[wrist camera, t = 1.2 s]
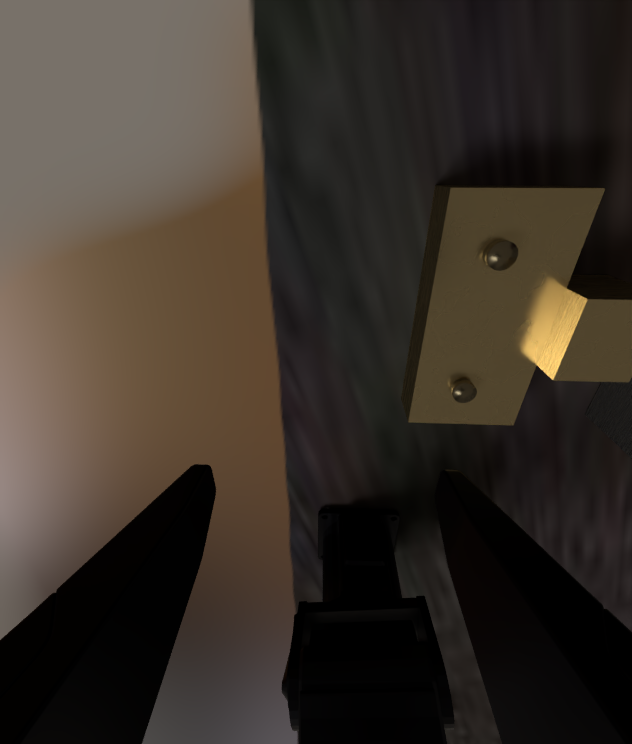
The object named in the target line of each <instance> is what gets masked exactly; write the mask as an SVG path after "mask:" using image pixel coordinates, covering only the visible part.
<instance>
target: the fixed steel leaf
mask: <svg viewBox="0 0 632 744" xmlns="http://www.w3.org/2000/svg"><path fill="white" fill-rule="evenodd" d="M585 415H586V416H587V417H588V418H589V419H590V420H591V421H592V422H593V423H594V424H596V425H597V426H598V427H599V428H600V429H601V430H602V431H603V432H604V433H605V434H606V435H607V436H608V437H609V438H610V439H611V440H612V441H614V442H615V443H616V444H617V445H618V446H619V447H620V448H621V449H622V450H623V451H624V452H625V453H626V454H627V455H628V456H629V457H630V458H632V378H631V379H630V381H629V382H602V383H601V385H600V387H599V389H598V391H597V392H596V394H595V396H594V398H593V400H592V402H591V404H590V406H589V408H588V410H587V412H586V414H585Z"/></svg>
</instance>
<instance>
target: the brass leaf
mask: <svg viewBox="0 0 632 744" xmlns="http://www.w3.org/2000/svg"><path fill="white" fill-rule="evenodd" d="M604 190H605V188H594V187H579V186H475V185H435V190H434V197H433V203H432V209H431V215H430V222H429V228H428V234H427V240H426V247H425V253H424V259H423V265H422V272H421V278H420V284H419V290H418V296H417V303H416V309H415V315H414V321H413V328H412V334H411V340H410V346H409V353H408V359H407V365H406V371H405V378H404V384H403V390H402V396H401V400H402V403H403V406H404V410H405V413H406V417H407V420H408V422H415V423H450V424H485V425H514V422H515V420H516V417H517V415H518V412H519V409H520V407H521V404H522V402H523V399H524V397H525V394H526V391H527V389H528V386H529V384H530V381H531V379H532V376H533V373H534V371H535V368H536V366H538V367H539V368H540V369H542V370H543V371H544V372H545V373H546V374H547V375H548V376H549V377H550V378H551V379H552V380H553V381H594V382H629V381H630V379H631V378H632V284H630V283H628V282H625V281H622V280H620V279H617V278H615V277H612V276H609V275H582V274H572V273H573V270H574V268H575V265H576V263H577V260H578V257H579V255H580V252H581V250H582V247H583V245H584V242H585V239H586V237H587V234H588V232H589V229H590V226H591V224H592V221H593V219H594V216H595V214H596V211H597V208H598V206H599V203H600V201H601V198H602V196H603V193H604Z"/></svg>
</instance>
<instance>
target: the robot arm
mask: <svg viewBox="0 0 632 744" xmlns="http://www.w3.org/2000/svg"><path fill="white" fill-rule="evenodd" d="M215 495H216V487H215V482H214V478H213V473H212V469H211V467H210V466H209V465H198V464H195V465H193V466H191V467H190V468H189V469H188V470H187V471H185V472H184V473H183V474H182V475H181V476H180V477H179V478H178V479H177V480H176V481H174V482H173V483H172V484H171V485H170V486H169V487H168V488H167V489H166V490H165V491H164V492H162V493H161V494H160V495H159V496H158V497H157V498H156V499H155V500H154V501H153V502H152V503H151V504H149V505H148V506H147V507H146V508H145V509H144V510H143V511H142V512H141V513H140V514H139V515H137V516H136V517H135V518H134V519H133V520H132V521H131V522H130V523H129V524H128V525H127V526H125V527H124V528H123V529H122V530H121V531H120V532H119V533H118V534H117V535H116V536H115V537H114V538H112V539H111V540H110V541H109V542H108V543H107V544H106V545H105V546H104V547H103V548H102V549H100V550H99V551H98V552H97V553H96V554H95V555H94V556H93V557H92V558H91V559H89V560H88V561H87V562H86V563H85V564H84V565H83V566H82V567H81V568H80V569H79V570H77V571H76V572H75V573H74V574H73V575H72V576H71V577H70V578H69V579H68V580H67V581H66V582H64V583H63V584H62V585H61V586H60V587H59V588H58V589H57V591H56V593H52V594H51V595H50V596H49V597H48V598H47V599H46V600H45V601H43V603H42V604H40V605H39V606H38V607H37V608H36V609H35V610H34V611H33V612H32V613H30V614H29V615H28V616H27V617H26V618H25V619H23V620H22V621H21V622H20V623H19V624H18V625H17V626H16V627H14V628H13V629H12V630H11V631H10V632H9V633H8V634H7V635H5V636H4V637H3V638H2V639H1V640H0V744H142V741H143V738H144V735H145V732H146V729H147V726H148V723H149V720H150V717H151V714H152V711H153V708H154V705H155V702H156V699H157V695H158V692H159V689H160V686H161V683H162V680H163V677H164V674H165V671H166V668H167V665H168V661H169V659H170V656H171V653H172V649H173V646H174V643H175V640H176V637H177V634H178V631H179V628H180V625H181V622H182V619H183V616H184V613H185V610H186V606H187V603H188V600H189V597H190V594H191V591H192V588H193V585H194V582H195V579H196V576H197V573H198V569H199V566H200V563H201V560H202V556H203V552H204V547H205V543H206V538H207V533H208V528H209V524H210V519H211V514H212V510H213V505H214V500H215ZM435 503H436V509H437V514H438V519H439V524H440V529H441V534H442V539H443V544H444V550H445V555H446V559H447V564H448V568H449V571H450V575H451V578H452V581H453V585H454V588H455V591H456V594H457V598H458V601H459V604H460V607H461V611H462V614H463V617H464V620H465V624H466V627H467V630H468V633H469V637H470V640H471V643H472V646H473V650H474V653H475V656H476V659H477V663H478V666H479V669H480V672H481V676H482V679H483V682H484V685H485V689H486V692H487V695H488V698H489V702H490V705H491V708H492V712H493V715H494V718H495V721H496V725H497V728H498V731H499V734H500V738H501V741H502V744H632V632H631V631H630V630H629V629H628V628H627V627H626V626H625V625H624V624H623V623H621V622H620V621H619V620H618V619H617V618H616V617H615V616H614V615H613V614H612V613H611V612H610V611H609V610H607V609H604V607H603V605H602V604H601V603H600V602H599V601H598V600H597V599H596V598H595V597H594V596H593V595H592V594H590V593H589V592H588V591H587V590H586V589H585V588H584V587H583V586H582V585H581V584H580V583H579V582H578V581H577V580H576V579H575V578H573V577H572V576H571V575H570V574H569V573H568V572H567V571H566V570H565V569H564V568H563V567H562V566H561V565H560V564H559V563H558V562H556V561H555V560H554V559H553V558H552V557H551V556H550V555H549V554H548V553H547V552H546V551H545V550H544V549H543V548H542V547H541V546H540V545H538V544H537V543H536V542H535V541H534V540H533V539H532V538H531V537H530V536H529V535H528V534H527V533H526V532H525V531H524V530H523V529H521V528H520V527H519V526H518V525H517V524H516V523H515V522H514V521H513V520H512V519H511V518H510V517H509V516H508V515H507V514H506V513H504V512H503V511H502V510H501V509H500V508H499V507H498V506H497V505H496V504H495V503H494V502H493V501H492V500H491V499H490V498H489V497H487V496H486V495H485V494H484V493H483V492H482V491H481V490H480V489H479V488H478V487H477V486H476V485H475V484H474V483H473V482H472V481H470V480H469V479H468V478H467V477H466V476H465V475H464V474H463V473H462V472H460V471H459V470H442V471H441V473H440V476H439V479H438V483H437V487H436V490H435ZM399 521H400V516H399V513H398V512H397V511H394V510H353V509H321V510H320V511H319V513H318V558H319V559H321V560H323V592H322V602H312V603H307V601H300V602H299V607H298V613H297V614H295V615H294V627H293V636H292V642H291V649H290V653H289V657H288V661H287V665H286V669H285V673H284V677H283V680H282V693H283V695H284V696H285V698H286V699H287V701H288V708H289V715H290V723H291V727H292V730H294V731H299V744H447V741H446V735H445V730H444V729H454V714H453V706H452V700H451V694H450V689H449V684H448V679H447V675H446V670H445V666H444V662H443V659H442V655H441V652H440V648H439V645H438V641H437V638H436V634H435V631H434V627H433V624H432V620H431V617H430V613H429V610H428V606H427V603H426V599H425V596H416V598H402V595H401V589H400V583H399V578H398V572H397V567H396V561H395V555H394V546H395V541H396V536H397V531H398V526H399ZM417 638H418V639H417Z"/></svg>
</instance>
